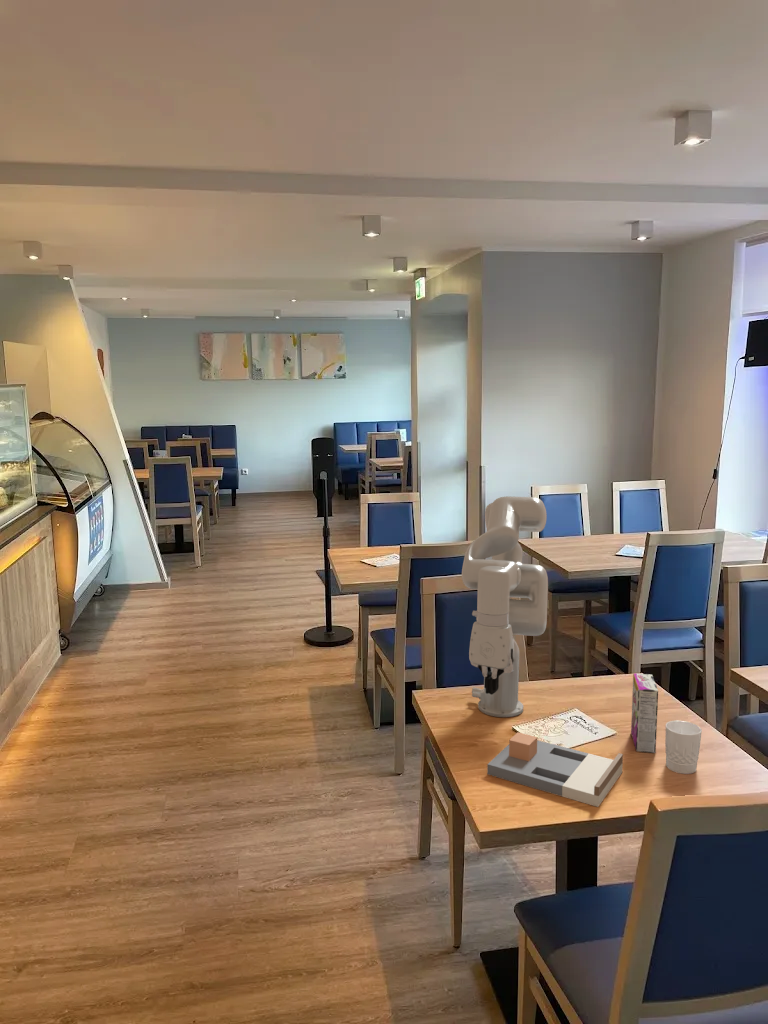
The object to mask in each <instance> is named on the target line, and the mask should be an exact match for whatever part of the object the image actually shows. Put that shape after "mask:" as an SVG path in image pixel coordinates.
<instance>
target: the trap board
mask: <svg viewBox="0 0 768 1024" xmlns="http://www.w3.org/2000/svg"><path fill="white" fill-rule="evenodd" d="M623 760H624V754H623V753H619V752H618V753H617V755H616V756H615V757H614V759H612V758H608V757H604V756H600V755H596V754H592V753H589V752H584V751H580V750H576V749H574V748H570V747H566V746H561V745H558V744H554V743H549V742H546V741H542V740H538V739H537V753H536V754H535V755H534V757H533V758H532V759H531V760H530V761H526V760H522V759H518V758H515V757H511V756H509V744H507V745H506V746H505V747H504V748H503V749H502V750H501V751H500V752H499V753H497V755H496V756H494V757H493V759H491V761H489V762H488V763H487V764H486V765H487V770H486V772H487V775H489V776H491V775H492V777H495V776H496V777H495V778H499V779H503V780H506V781H507V782H508V781H509V782H512V783H515V784H519V785H523V786H525V787H529V788H532V789H536V790H539V791H543V792H546V793H550V794H553V795H556V796H560V797H563V798H566V799H570V800H572V801H577V802H579V803H582V804H583V803H584V804H586V805H589V806H593V807H596V808H598V807H599V806H600V805H601V804H602V802H603V801H604V799H605V798H606V796H607V795H608V794H609V792H610V791H611V790H612V788H613V786H615V785H614V784H615V783H616V782H617V780H619V777H620V776H621V775H622V773H623V764H624V761H623Z"/></svg>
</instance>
